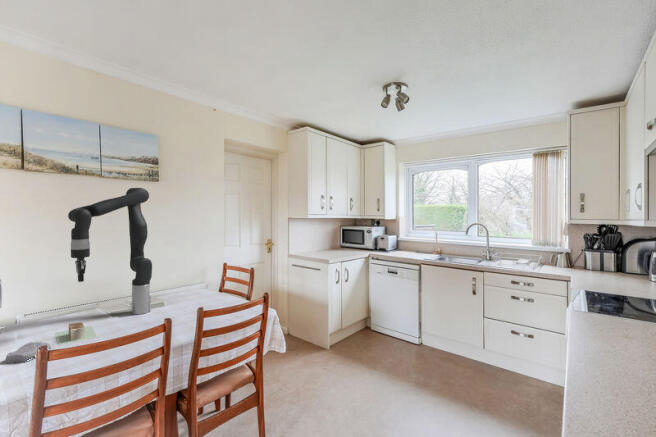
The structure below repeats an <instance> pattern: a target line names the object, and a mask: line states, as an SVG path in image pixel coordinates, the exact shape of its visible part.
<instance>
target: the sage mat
mask: <svg viewBox="0 0 656 437" xmlns="http://www.w3.org/2000/svg"><path fill="white" fill-rule="evenodd" d="M84 327H85V338H84V339H79V340H74V341H71V340H70V337H69V329H68V330H63V331H59V332H54V334H55V338H56V342H57V346H60V345H65V344H71V343H76V342H78V341H79V342H80V341H83V340H88V339H93V338H97V337H98V335H97V334H96V332H95V330H94V328H93V327H92V325H90V326H84Z"/></svg>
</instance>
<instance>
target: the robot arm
mask: <svg viewBox="0 0 656 437" xmlns="http://www.w3.org/2000/svg"><path fill="white" fill-rule="evenodd" d="M149 198H150V192H149V191H148V190H147V189H146V188H143V187H131V188H129V189H128V190H126V192H125V195H122V196H117V197H116V196H115V197H113V198H112V197H111V198H108V199H103V200H101V201H100V200H99V201H98V202H95V203H92V204H89V205H84V206H78V207H76V208H74V209H71V210H70V211H69V212H68V214H67V215H68V216H67V218H68V220H70V221H71V222H73V223H74V227H73V228H71V231H70V232H71V233H70V240H71V241H70V258H72V259H76V260H74V264H75V270H76V274H77V282H78V283H82V282H84V281H85V278H84V276H85V274H86V269H87V268H86V267H87V265H86V264H87V260H85V258H89V257H90V256H91V251H90V250H91V249H90V248H91V244H90V227H91V225H92V218H96V217H100V216H104V215H106V214H109V213H112V212H114V211H117V210H119V209H122V208H125V207H127V211H128V212H127V215H128V229H129V244H130V255H129V256H130V257H129V258H130V259H129V268H130V270H132V272H135V278H133V279H132V280H131V314H132V315H143V314H147V313H149V312H151V300H152V298H151V297H152V296H151V295H150V292H151V291H150V290H151V289H150V287H151V279H152V276H153V275H152V274H153V262H152V260H151V259H149V258H148V257H147V258H146V257H145V252H144V250H145V245H146V242H147V239H148V224H147V221H146V219H145V217H144V215H143V212H142V207H141V205H142V204H143V203H145V202H147V201H148V200H149Z"/></svg>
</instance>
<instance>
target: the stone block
mask: <svg viewBox="0 0 656 437" xmlns="http://www.w3.org/2000/svg"><path fill="white" fill-rule="evenodd" d="M43 345H48V349H49V350H51V349H52V346H51V344H50V343H47V342H42V341H34V342H32V341H31V342H28V343H26V344H24V345H22V346H20V347H19V348H18V349H16V350H14V351H12V352H11V351H10V352H8V353H7V354H6V356H5V361H6V363H7V364H9V363H10V362H16V363H20V362H24V363H26V362H25V361H27V360H29V359H31V358H34V359H36V358H35V355H36V349H37V348H38V347H40V346H43ZM49 350H48V351H49ZM29 361H30V360H29ZM27 362H28V361H27Z"/></svg>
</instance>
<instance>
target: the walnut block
mask: <svg viewBox="0 0 656 437" xmlns="http://www.w3.org/2000/svg"><path fill="white" fill-rule="evenodd" d="M85 327H86V326H85V324H84V323H83V321H80V322H74V323H70V324H69V323H68V330H69V337H70V340H71V341H74V340H79V339H84V338H85Z"/></svg>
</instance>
